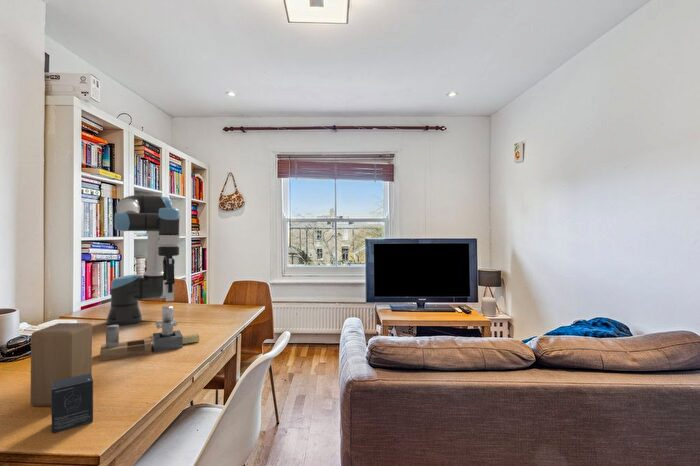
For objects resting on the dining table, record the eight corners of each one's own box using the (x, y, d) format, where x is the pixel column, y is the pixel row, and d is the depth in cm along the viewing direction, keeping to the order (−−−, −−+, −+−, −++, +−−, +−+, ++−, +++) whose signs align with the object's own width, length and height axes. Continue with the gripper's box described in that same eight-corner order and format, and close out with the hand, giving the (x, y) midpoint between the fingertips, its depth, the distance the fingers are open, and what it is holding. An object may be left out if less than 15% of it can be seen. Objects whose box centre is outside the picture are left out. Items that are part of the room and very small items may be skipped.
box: (91, 413, 89) (92, 372, 89) (93, 422, 85) (93, 379, 85) (51, 423, 84) (52, 380, 84) (51, 434, 80) (51, 388, 80)
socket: (152, 344, 143) (152, 333, 143) (179, 340, 148) (179, 330, 148) (154, 351, 134) (154, 340, 134) (182, 347, 140) (182, 336, 140)
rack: (101, 353, 131) (101, 324, 131) (150, 346, 140) (150, 319, 139) (100, 360, 124) (100, 330, 124) (151, 353, 133) (151, 324, 133)
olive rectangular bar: (177, 342, 144) (177, 336, 144) (198, 339, 149) (198, 333, 149) (178, 344, 142) (178, 338, 142) (199, 341, 146) (199, 335, 146)
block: (56, 390, 101) (57, 322, 101) (93, 389, 102) (93, 322, 102) (28, 407, 91) (29, 332, 91) (68, 406, 92) (69, 332, 92)
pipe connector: (167, 338, 150) (168, 315, 150) (148, 337, 152) (148, 314, 152) (183, 332, 160) (183, 310, 160) (164, 330, 162) (164, 309, 162)
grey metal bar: (161, 345, 142) (161, 306, 142) (172, 343, 144) (172, 305, 144) (162, 348, 138) (162, 308, 138) (173, 346, 141) (173, 307, 140)
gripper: (156, 244, 149) (155, 294, 149) (160, 247, 128) (160, 304, 128) (175, 244, 153) (174, 292, 153) (183, 247, 132) (182, 302, 132)
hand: (168, 298), depth 141 cm, fingers open, 13 cm apart
